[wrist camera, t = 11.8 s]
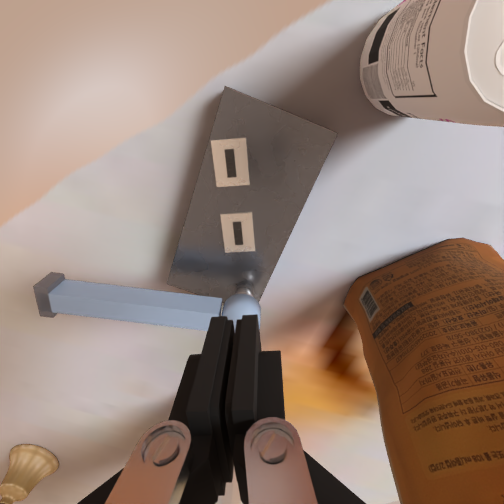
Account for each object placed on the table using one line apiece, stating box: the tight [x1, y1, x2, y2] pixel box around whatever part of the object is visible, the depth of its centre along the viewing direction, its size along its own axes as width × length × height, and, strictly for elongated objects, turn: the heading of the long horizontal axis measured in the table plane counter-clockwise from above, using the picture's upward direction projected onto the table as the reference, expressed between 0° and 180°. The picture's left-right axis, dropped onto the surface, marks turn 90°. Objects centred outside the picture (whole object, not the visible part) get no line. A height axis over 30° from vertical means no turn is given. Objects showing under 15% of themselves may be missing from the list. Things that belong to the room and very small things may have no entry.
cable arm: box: [33, 272, 261, 331], centre depth 29 cm, size 20×4×2 cm, turn 84°
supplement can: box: [360, 0, 504, 127], centre depth 19 cm, size 8×8×15 cm
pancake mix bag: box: [343, 238, 504, 504], centre depth 22 cm, size 7×19×28 cm, turn 120°
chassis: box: [167, 86, 338, 303], centre depth 29 cm, size 20×10×6 cm, turn 160°
